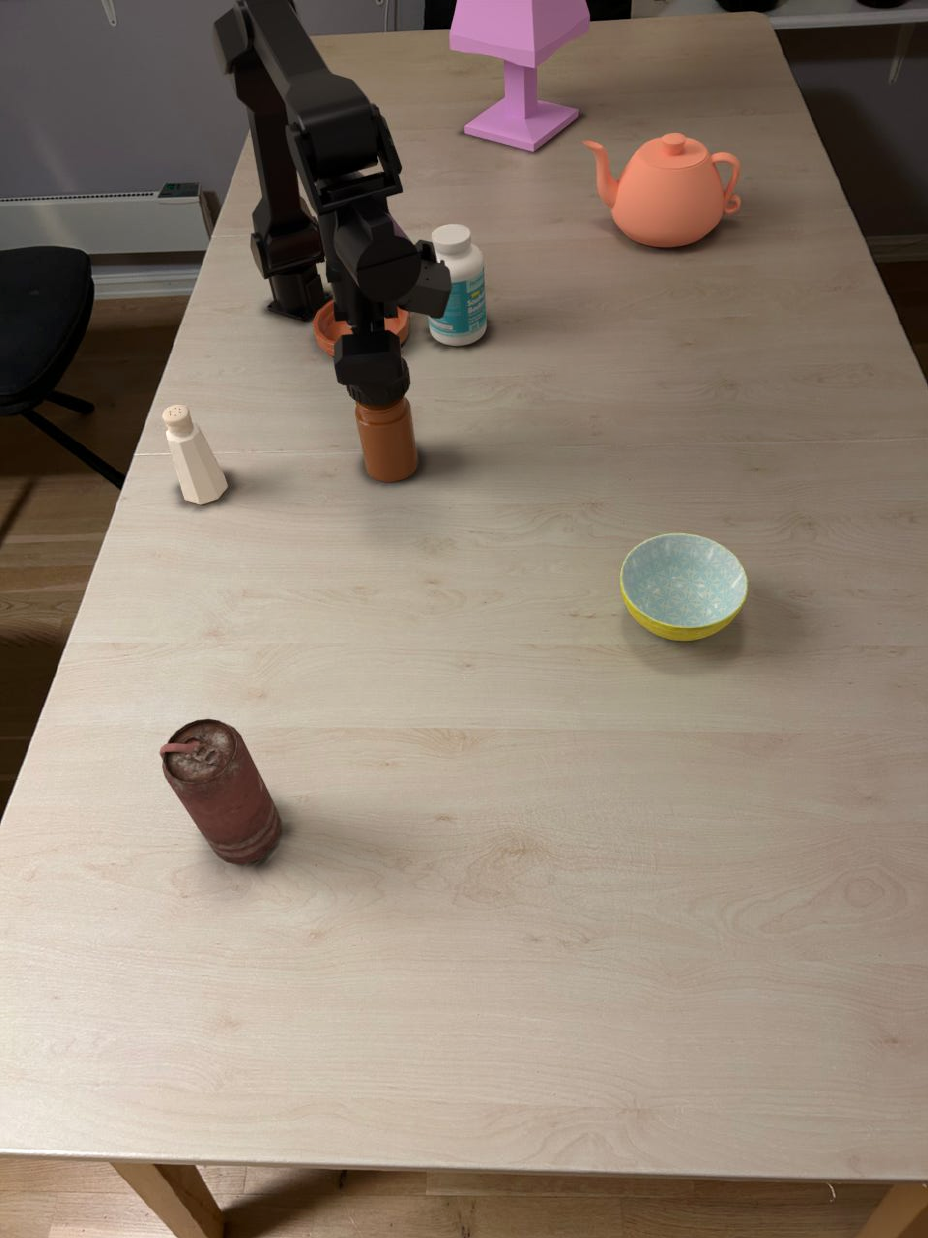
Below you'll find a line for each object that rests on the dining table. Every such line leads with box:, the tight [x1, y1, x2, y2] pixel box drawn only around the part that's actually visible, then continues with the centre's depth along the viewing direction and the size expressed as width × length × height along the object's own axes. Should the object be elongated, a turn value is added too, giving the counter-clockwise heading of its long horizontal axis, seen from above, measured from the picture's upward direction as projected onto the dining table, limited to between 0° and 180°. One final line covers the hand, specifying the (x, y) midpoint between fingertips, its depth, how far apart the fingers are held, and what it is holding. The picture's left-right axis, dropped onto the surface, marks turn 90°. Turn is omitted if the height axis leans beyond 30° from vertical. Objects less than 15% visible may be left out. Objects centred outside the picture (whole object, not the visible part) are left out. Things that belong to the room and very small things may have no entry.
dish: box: [312, 299, 411, 357], centre depth 121 cm, size 12×12×2 cm
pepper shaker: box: [162, 404, 229, 505], centre depth 102 cm, size 5×5×11 cm
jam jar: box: [354, 394, 419, 483], centre depth 103 cm, size 6×6×10 cm
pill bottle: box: [428, 223, 488, 347], centre depth 116 cm, size 8×7×14 cm
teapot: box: [582, 132, 742, 248], centre depth 129 cm, size 22×16×12 cm
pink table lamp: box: [448, 0, 591, 153], centre depth 142 cm, size 16×16×35 cm
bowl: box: [619, 532, 749, 642], centre depth 88 cm, size 11×12×6 cm
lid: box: [345, 356, 412, 406], centre depth 97 cm, size 7×7×2 cm
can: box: [158, 718, 282, 865], centre depth 74 cm, size 6×6×14 cm
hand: (378, 384), depth 97 cm, fingers closed on lid, 6 cm apart
